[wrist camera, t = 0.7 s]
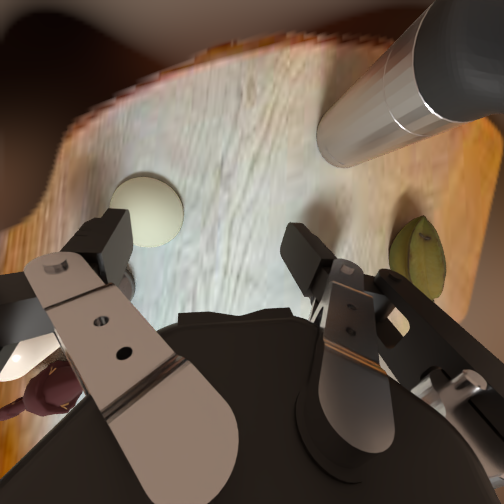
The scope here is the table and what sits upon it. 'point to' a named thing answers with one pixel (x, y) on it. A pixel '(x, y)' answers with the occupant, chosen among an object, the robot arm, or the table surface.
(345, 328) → the robot arm
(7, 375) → the cream white cylinder
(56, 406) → the brown turtle figurine
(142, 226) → the coaster
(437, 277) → the fruit
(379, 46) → the table surface
